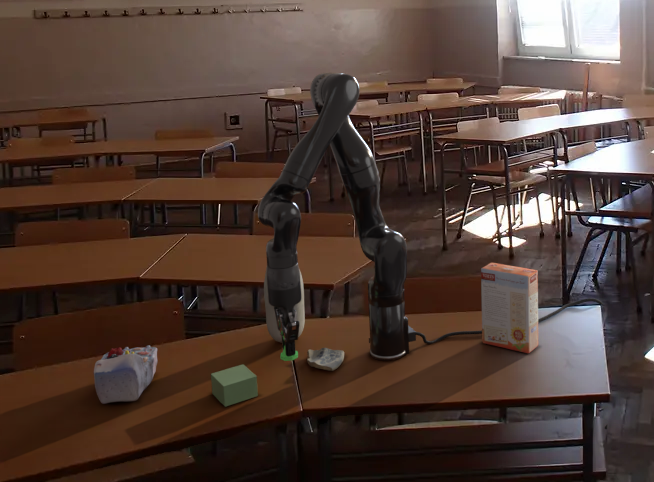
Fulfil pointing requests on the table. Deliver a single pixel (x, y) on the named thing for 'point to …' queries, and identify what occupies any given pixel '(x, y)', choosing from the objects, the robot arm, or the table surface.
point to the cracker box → (509, 307)
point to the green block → (234, 385)
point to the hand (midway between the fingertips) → (289, 352)
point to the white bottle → (271, 316)
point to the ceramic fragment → (325, 358)
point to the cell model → (124, 373)
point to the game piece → (288, 358)
